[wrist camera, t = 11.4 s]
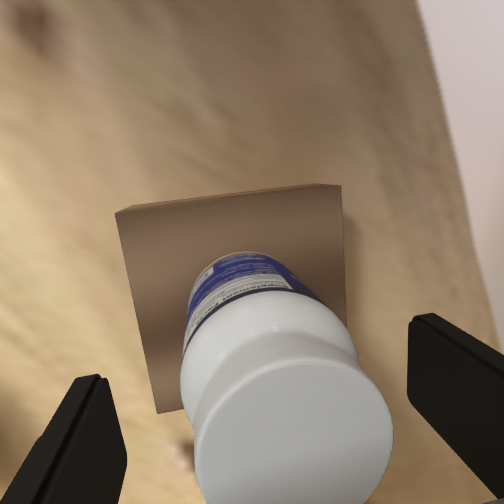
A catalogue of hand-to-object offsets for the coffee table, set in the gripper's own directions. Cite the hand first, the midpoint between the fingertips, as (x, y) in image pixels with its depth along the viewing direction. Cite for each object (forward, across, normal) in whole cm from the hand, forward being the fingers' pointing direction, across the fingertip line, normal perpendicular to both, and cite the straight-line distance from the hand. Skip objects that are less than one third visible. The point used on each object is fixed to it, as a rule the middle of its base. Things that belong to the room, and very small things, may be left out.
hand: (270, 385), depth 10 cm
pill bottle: (+7, 0, 0) cm, 7 cm away
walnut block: (+11, 0, +1) cm, 11 cm away
